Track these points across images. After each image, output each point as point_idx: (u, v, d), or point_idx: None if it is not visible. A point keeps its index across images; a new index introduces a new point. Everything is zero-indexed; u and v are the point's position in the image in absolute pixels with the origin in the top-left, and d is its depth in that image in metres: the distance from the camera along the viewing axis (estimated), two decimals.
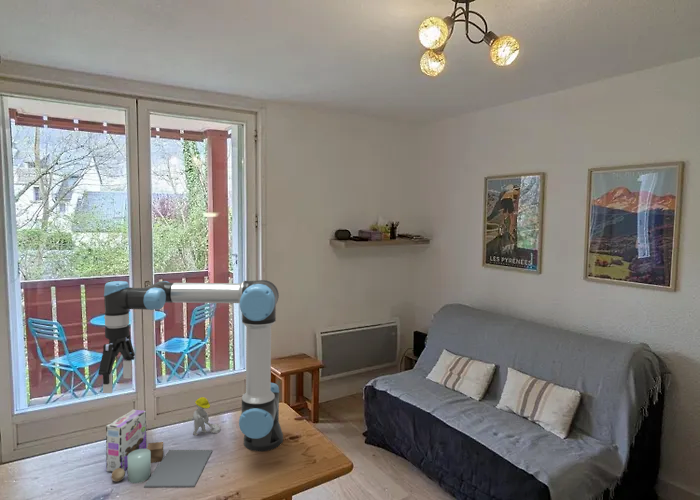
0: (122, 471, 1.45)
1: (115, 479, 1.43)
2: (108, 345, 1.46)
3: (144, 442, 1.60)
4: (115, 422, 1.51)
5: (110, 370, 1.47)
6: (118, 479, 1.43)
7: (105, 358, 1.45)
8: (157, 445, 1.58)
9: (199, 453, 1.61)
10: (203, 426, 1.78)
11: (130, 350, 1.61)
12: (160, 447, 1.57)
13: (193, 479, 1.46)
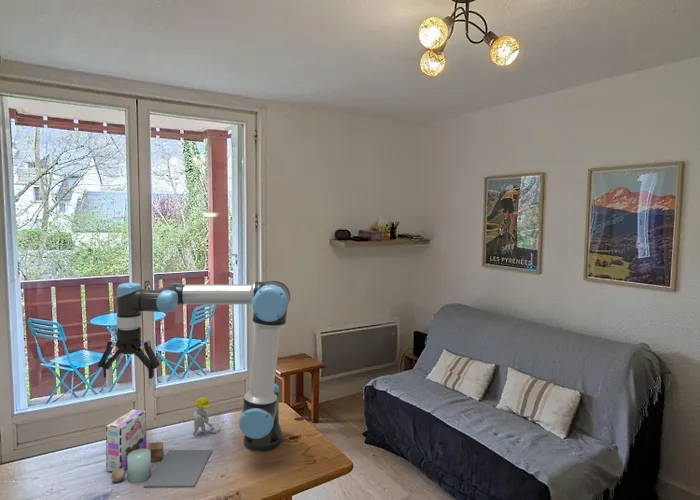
0: (122, 471, 1.45)
1: (115, 479, 1.43)
2: (109, 341, 1.52)
3: (144, 442, 1.60)
4: (115, 422, 1.51)
5: (106, 365, 1.52)
6: (118, 479, 1.43)
7: None
8: (157, 445, 1.58)
9: (199, 453, 1.61)
10: (203, 426, 1.78)
11: None
12: (160, 447, 1.57)
13: (193, 479, 1.46)
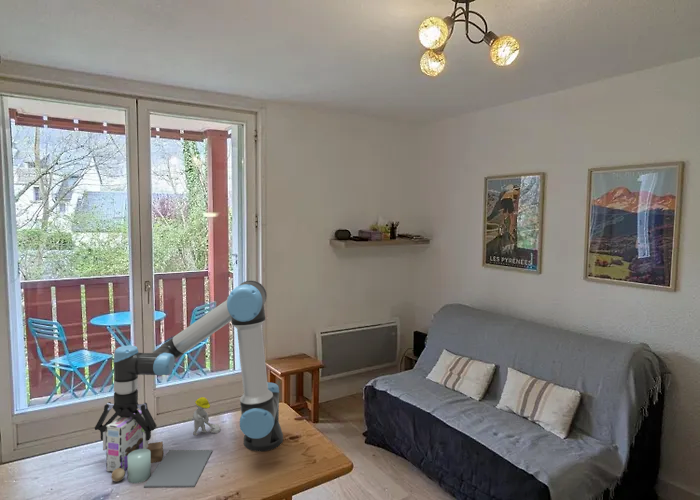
0: (122, 471, 1.45)
1: (115, 479, 1.43)
2: (106, 404, 1.53)
3: None
4: (115, 422, 1.51)
5: (103, 428, 1.53)
6: (118, 479, 1.43)
7: None
8: (157, 445, 1.58)
9: (199, 453, 1.61)
10: (203, 426, 1.78)
11: None
12: (159, 447, 1.57)
13: (193, 479, 1.46)
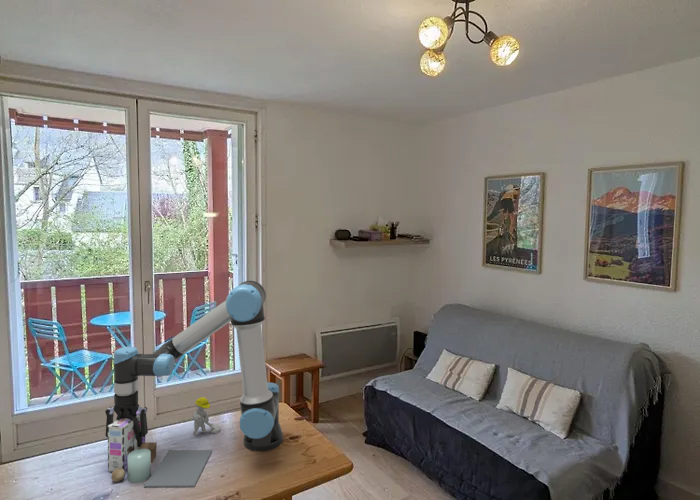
0: (122, 471, 1.45)
1: (115, 479, 1.43)
2: None
3: (143, 441, 1.61)
4: (116, 422, 1.51)
5: None
6: (118, 479, 1.43)
7: None
8: None
9: (199, 453, 1.61)
10: (203, 426, 1.78)
11: None
12: None
13: (193, 479, 1.46)
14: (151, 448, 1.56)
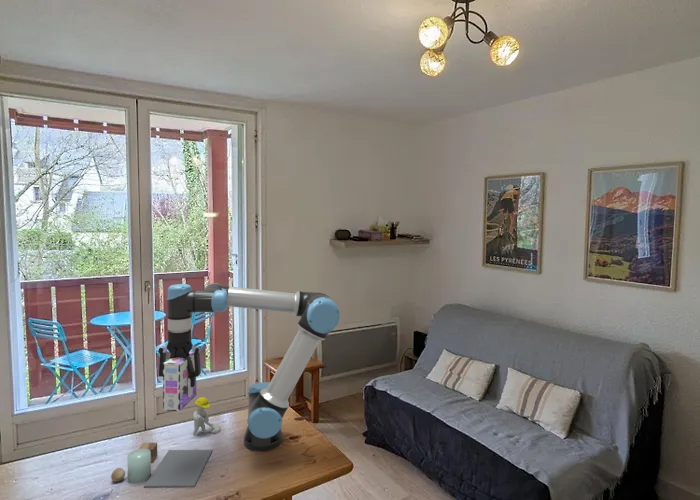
0: (122, 471, 1.45)
1: (115, 479, 1.43)
2: None
3: (195, 383, 1.56)
4: (171, 360, 1.46)
5: None
6: (118, 479, 1.43)
7: None
8: None
9: (199, 453, 1.61)
10: (203, 426, 1.78)
11: None
12: None
13: (193, 479, 1.46)
14: (151, 448, 1.56)
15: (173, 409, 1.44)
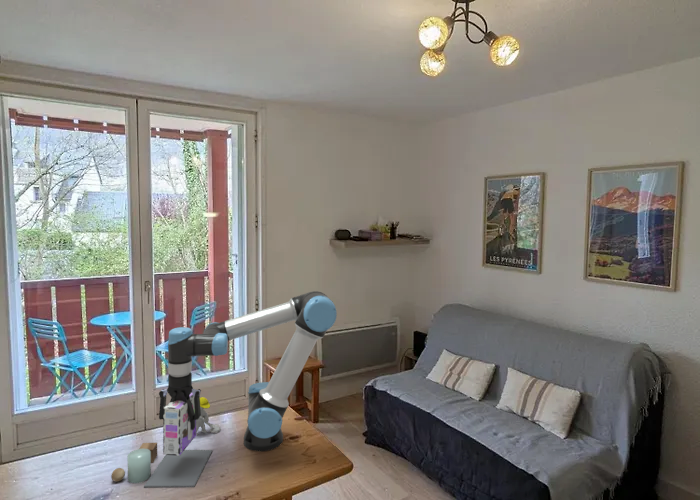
0: (122, 471, 1.45)
1: (115, 479, 1.43)
2: None
3: None
4: (171, 404, 1.47)
5: None
6: (118, 479, 1.43)
7: None
8: None
9: (199, 453, 1.61)
10: (203, 426, 1.78)
11: None
12: None
13: (193, 479, 1.46)
14: (151, 448, 1.56)
15: (173, 453, 1.45)
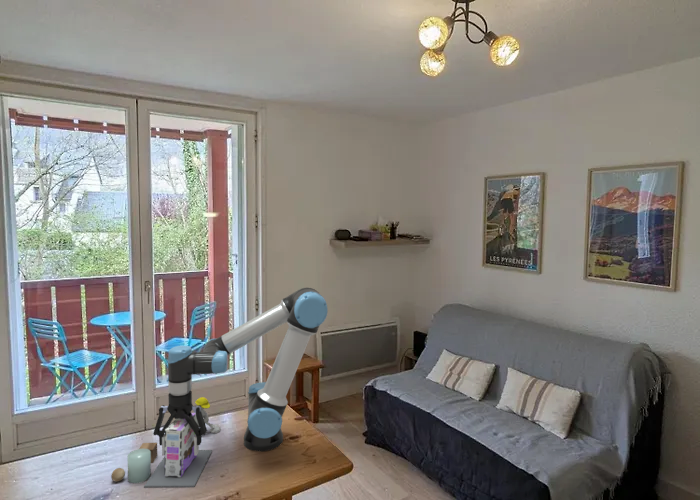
0: (122, 471, 1.45)
1: (115, 479, 1.43)
2: (160, 407, 1.50)
3: None
4: (172, 426, 1.48)
5: (161, 433, 1.50)
6: (118, 479, 1.43)
7: None
8: None
9: (199, 453, 1.61)
10: None
11: None
12: None
13: (193, 479, 1.46)
14: (151, 448, 1.56)
15: (174, 475, 1.46)
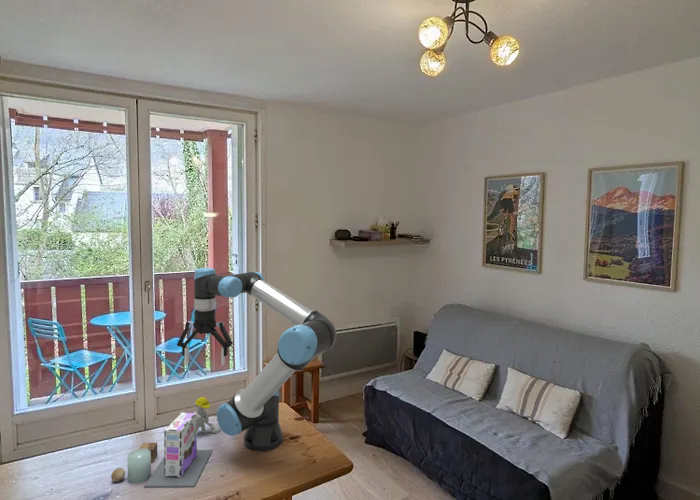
0: (122, 471, 1.45)
1: (115, 479, 1.43)
2: (186, 322, 1.65)
3: (195, 445, 1.58)
4: (172, 426, 1.48)
5: (184, 344, 1.65)
6: (118, 479, 1.43)
7: (183, 332, 1.65)
8: None
9: (199, 453, 1.61)
10: (203, 426, 1.78)
11: None
12: None
13: (193, 479, 1.46)
14: (151, 448, 1.56)
15: (174, 475, 1.46)
